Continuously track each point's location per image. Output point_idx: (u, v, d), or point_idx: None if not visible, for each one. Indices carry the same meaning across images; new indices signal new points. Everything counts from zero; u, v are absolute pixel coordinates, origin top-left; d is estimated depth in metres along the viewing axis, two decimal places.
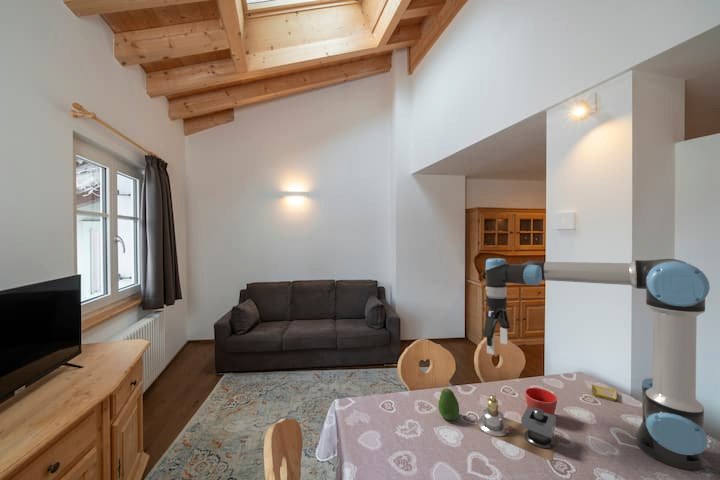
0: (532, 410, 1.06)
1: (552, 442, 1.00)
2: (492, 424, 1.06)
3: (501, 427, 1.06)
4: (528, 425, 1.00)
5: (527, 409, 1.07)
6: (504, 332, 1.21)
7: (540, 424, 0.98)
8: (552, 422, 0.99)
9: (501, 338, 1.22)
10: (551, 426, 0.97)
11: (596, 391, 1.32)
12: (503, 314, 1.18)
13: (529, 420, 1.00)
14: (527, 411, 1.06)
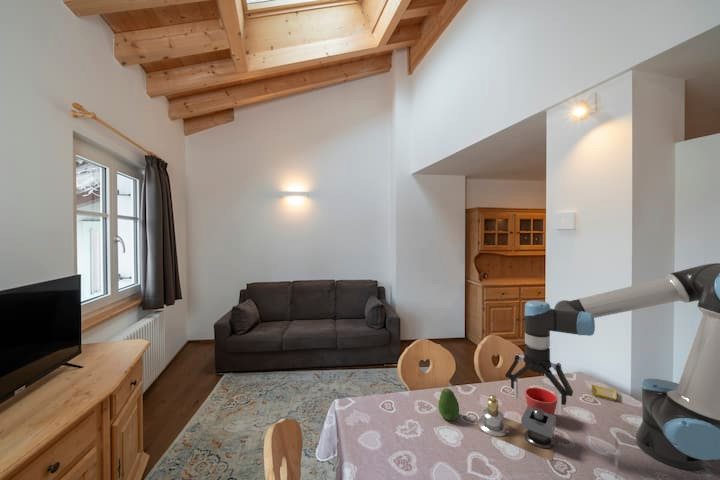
0: (532, 410, 1.06)
1: (552, 442, 1.00)
2: (492, 424, 1.06)
3: (501, 427, 1.06)
4: (528, 425, 1.00)
5: (527, 409, 1.07)
6: (559, 398, 0.97)
7: (540, 424, 0.98)
8: (552, 422, 0.99)
9: None
10: (551, 426, 0.97)
11: (596, 391, 1.32)
12: (544, 370, 0.99)
13: (529, 420, 1.00)
14: (527, 411, 1.06)
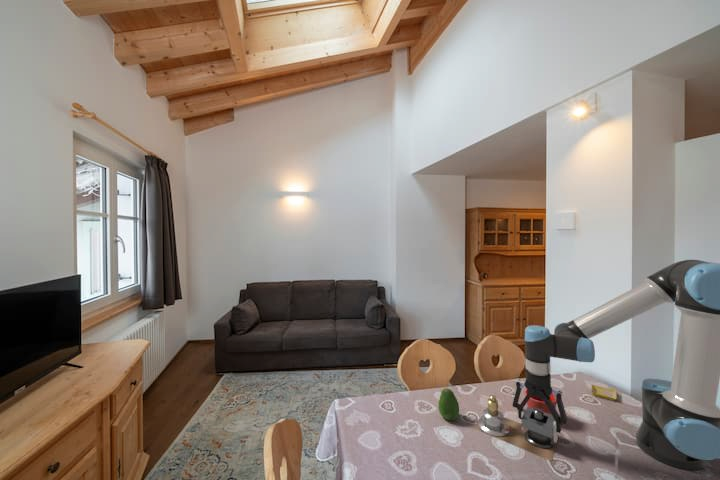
0: (532, 410, 1.06)
1: (552, 442, 1.00)
2: (492, 424, 1.06)
3: (501, 427, 1.06)
4: (528, 425, 1.00)
5: (527, 409, 1.07)
6: None
7: (540, 424, 0.98)
8: (552, 422, 0.99)
9: None
10: (551, 426, 0.97)
11: (596, 391, 1.32)
12: (544, 397, 0.99)
13: (529, 420, 1.00)
14: (527, 411, 1.06)
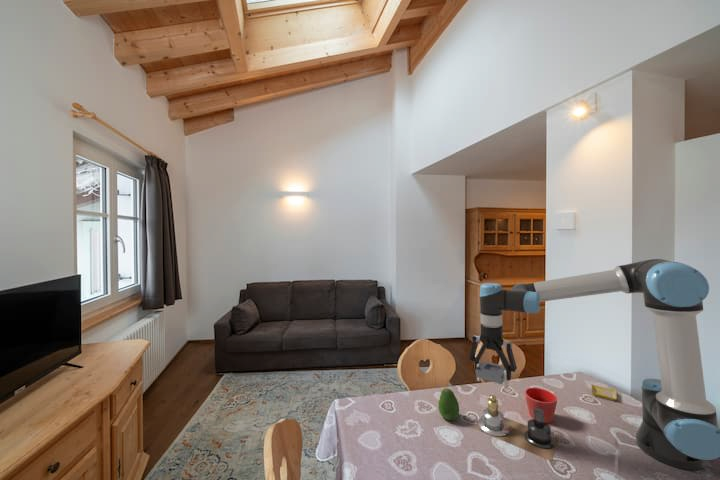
0: (487, 363, 1.13)
1: (552, 442, 1.00)
2: (492, 424, 1.06)
3: (501, 427, 1.06)
4: (481, 374, 1.07)
5: (483, 362, 1.14)
6: None
7: (492, 372, 1.05)
8: (503, 371, 1.06)
9: None
10: (501, 374, 1.04)
11: (596, 391, 1.32)
12: (496, 347, 1.06)
13: (482, 370, 1.08)
14: (483, 363, 1.13)
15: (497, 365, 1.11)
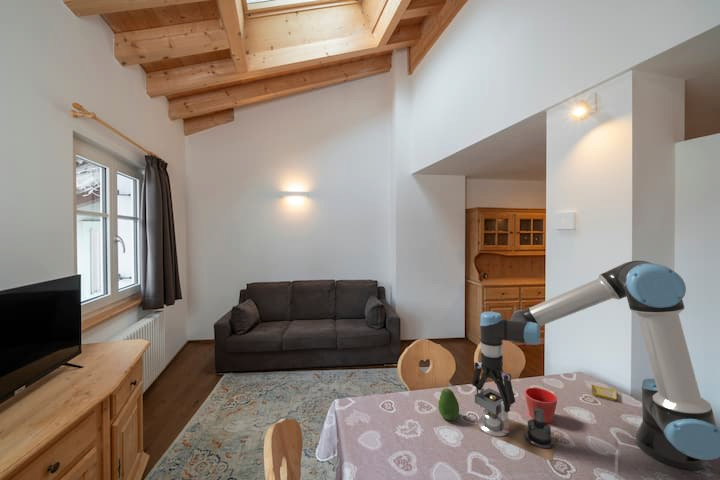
0: (491, 391, 1.13)
1: (552, 442, 1.00)
2: (492, 424, 1.06)
3: (501, 427, 1.06)
4: (479, 401, 1.09)
5: (487, 389, 1.14)
6: None
7: (488, 401, 1.06)
8: None
9: None
10: (498, 404, 1.04)
11: (596, 391, 1.32)
12: (494, 377, 1.06)
13: (481, 397, 1.09)
14: (486, 390, 1.14)
15: (500, 395, 1.10)
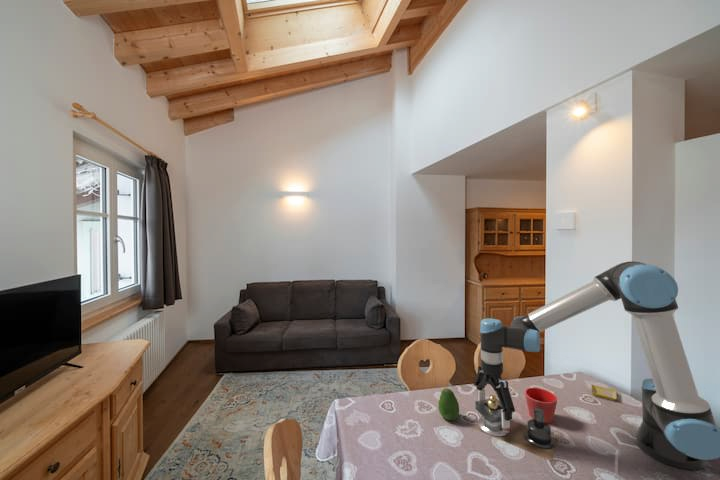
0: None
1: (552, 442, 1.00)
2: (492, 424, 1.06)
3: (501, 427, 1.06)
4: (478, 408, 1.11)
5: None
6: None
7: (486, 409, 1.07)
8: (500, 412, 1.05)
9: None
10: (494, 413, 1.05)
11: (596, 391, 1.32)
12: (492, 384, 1.06)
13: (480, 404, 1.11)
14: None
15: None
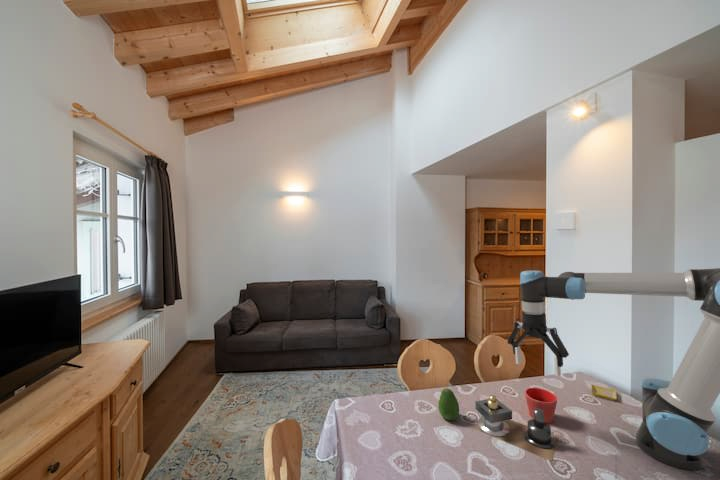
0: None
1: (552, 442, 1.00)
2: (492, 424, 1.06)
3: (501, 427, 1.06)
4: (478, 408, 1.11)
5: None
6: None
7: (486, 409, 1.07)
8: (500, 412, 1.05)
9: None
10: (494, 413, 1.05)
11: (596, 391, 1.32)
12: (540, 334, 1.05)
13: (480, 404, 1.11)
14: None
15: (502, 405, 1.09)
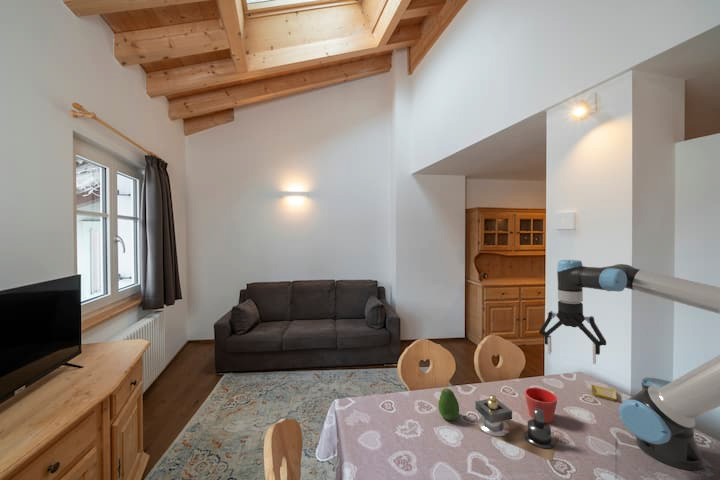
0: None
1: (552, 442, 1.00)
2: (492, 424, 1.06)
3: (501, 427, 1.06)
4: (478, 408, 1.11)
5: None
6: None
7: (486, 409, 1.07)
8: (500, 412, 1.05)
9: None
10: (494, 413, 1.05)
11: (596, 391, 1.32)
12: (578, 323, 1.05)
13: (480, 404, 1.11)
14: None
15: (502, 405, 1.09)
